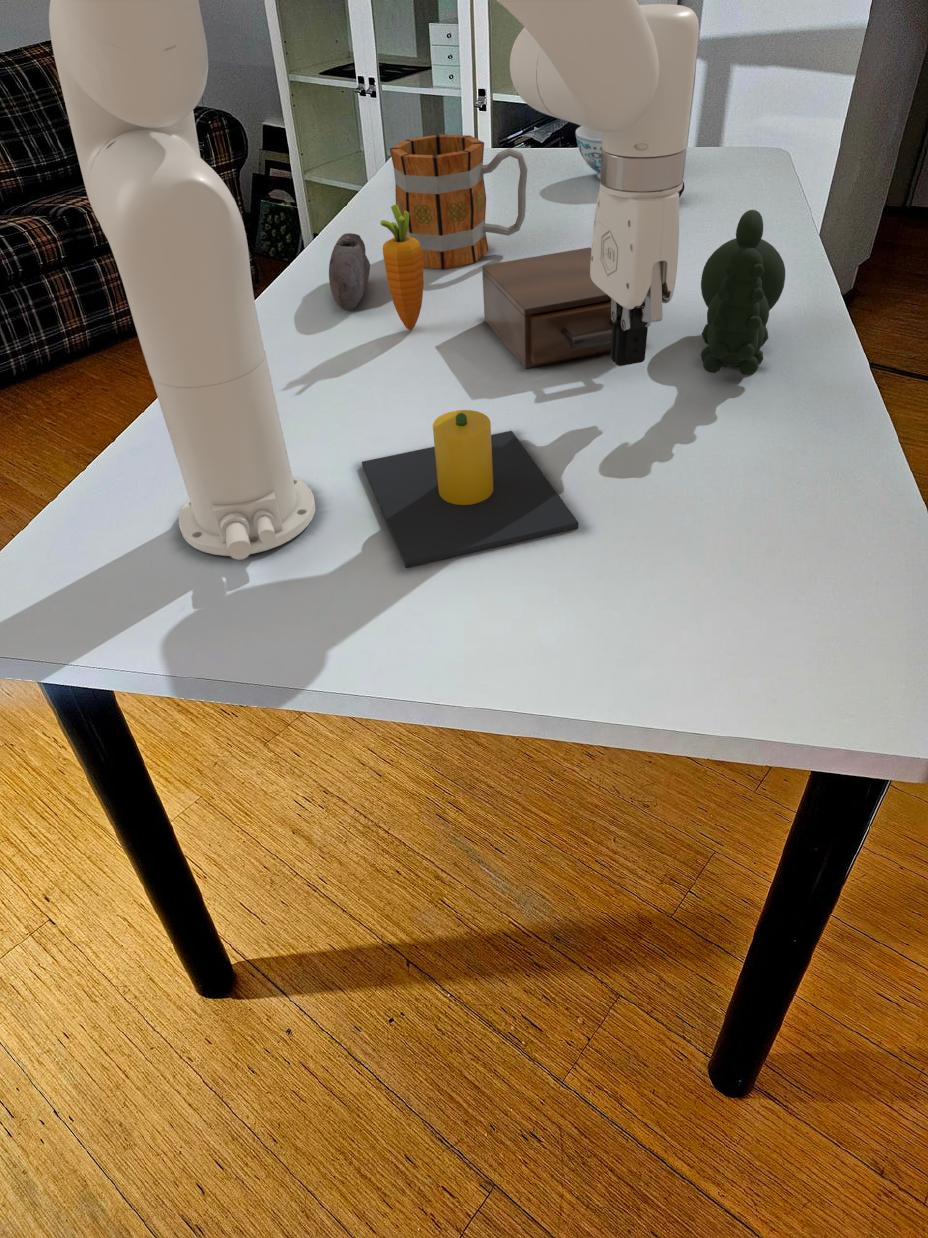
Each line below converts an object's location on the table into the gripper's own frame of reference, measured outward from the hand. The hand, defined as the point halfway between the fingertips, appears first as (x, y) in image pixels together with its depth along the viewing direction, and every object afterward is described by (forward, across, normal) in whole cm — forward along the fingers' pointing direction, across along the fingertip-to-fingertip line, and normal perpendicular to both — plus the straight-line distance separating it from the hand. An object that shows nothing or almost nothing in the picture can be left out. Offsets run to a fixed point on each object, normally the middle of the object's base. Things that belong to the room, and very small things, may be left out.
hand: (627, 360), depth 93 cm
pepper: (+5, +10, -21) cm, 24 cm away
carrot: (+6, -30, -16) cm, 34 cm away
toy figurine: (+5, -7, +17) cm, 19 cm away
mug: (+5, -55, -1) cm, 55 cm away
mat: (+6, +10, -21) cm, 24 cm away
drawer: (+4, -17, +1) cm, 17 cm away
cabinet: (+5, -21, +1) cm, 21 cm away
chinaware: (+4, -80, +36) cm, 88 cm away
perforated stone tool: (+6, -44, -21) cm, 49 cm away
